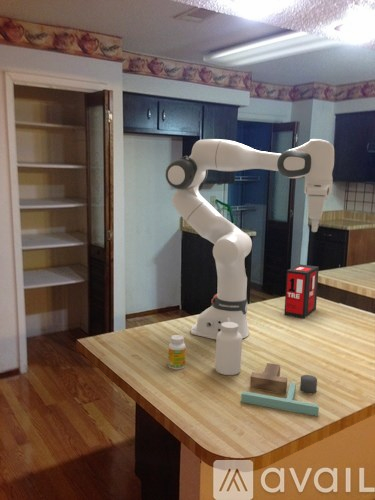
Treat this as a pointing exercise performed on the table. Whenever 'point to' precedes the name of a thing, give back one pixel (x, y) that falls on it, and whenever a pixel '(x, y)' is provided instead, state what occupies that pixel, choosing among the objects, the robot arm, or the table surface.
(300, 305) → the cleaning product box
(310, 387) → the grey rounded lump
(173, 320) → the table surface
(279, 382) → the t block
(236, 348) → the pill bottle
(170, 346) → the supplement bottle
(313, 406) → the rail
